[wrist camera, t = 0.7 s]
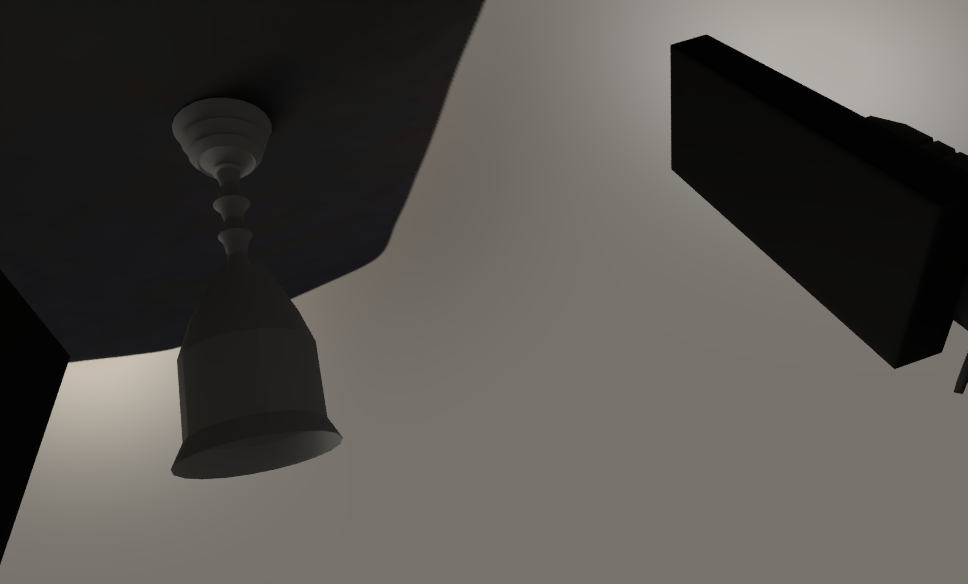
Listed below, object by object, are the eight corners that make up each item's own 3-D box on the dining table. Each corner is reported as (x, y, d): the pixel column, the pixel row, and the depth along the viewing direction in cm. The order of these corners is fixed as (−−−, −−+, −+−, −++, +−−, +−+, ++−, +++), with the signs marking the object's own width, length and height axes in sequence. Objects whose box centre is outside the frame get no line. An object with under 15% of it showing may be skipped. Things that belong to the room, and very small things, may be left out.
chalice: (251, 66, 33) (301, 420, 26) (313, 141, 39) (365, 443, 32) (118, 115, 34) (132, 471, 27) (199, 181, 40) (227, 484, 33)
